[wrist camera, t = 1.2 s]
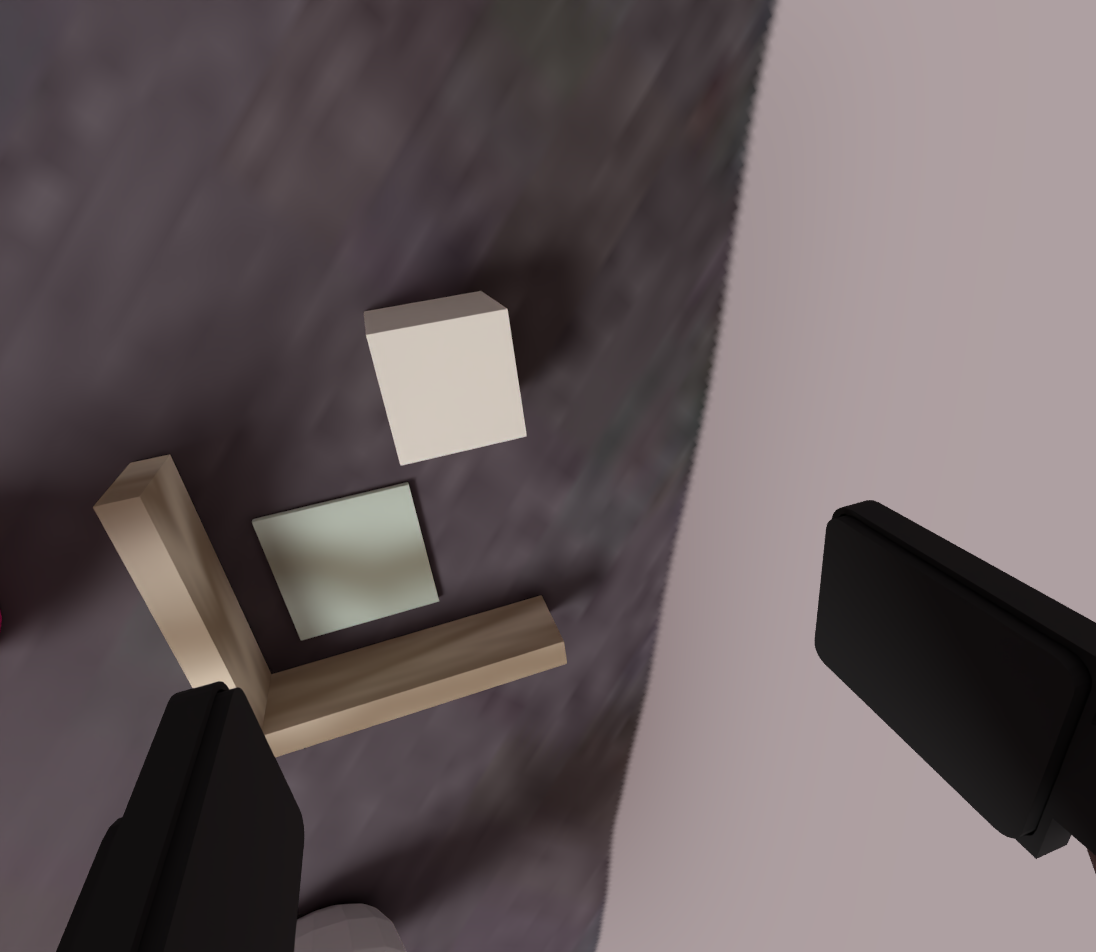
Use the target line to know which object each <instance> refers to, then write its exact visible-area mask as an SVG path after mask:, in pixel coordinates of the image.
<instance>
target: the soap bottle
mask: <svg viewBox="0 0 1096 952" xmlns="http://www.w3.org/2000/svg"><path fill="white" fill-rule="evenodd" d="M294 952H406V950H405V947H404V945H403V943H402V941H401V939H400V937H399V935H398V933H397V930H396V928H395V926H394V924H393V922H392V921H391V920H390V919H388V918H387V917H386V916H385V915H384V914H383V913H382V912H380V911H379V910H378V909H377V908H375V907H372V906H369V905H366V904H363V903H359V904H340V905H332V906H329V907H326V908H323V909H319V910H316V911H314V912H312V913H310V914H307V915H305V916H303V917H301V918H299V919H297V924H296V935H295V946H294Z"/></svg>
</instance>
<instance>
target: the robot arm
mask: <svg viewBox="0 0 1096 952" xmlns="http://www.w3.org/2000/svg"><path fill="white" fill-rule="evenodd" d="M815 648H816V651H817V653H818V655H819V657H820V659H821V660H822V661H823V662H824V664H825V665H826V666H827V667H829V668H830V669H831V670H832V671H833V672H834V673H835V674H836V675H837V676H838V677H839V678H840V679H841V680H842V681H843V682H844V683H845V684H846V685H847V686H848V687H849V688H850V689H851V690H852V691H853V692H854V693H855V694H856V695H857V696H859V698H861V699H862V700H863V701H864V702H865V703H866V704H867V705H868V706H869V707H870V708H871V709H872V710H873V711H874V712H875V713H876V714H877V715H878V716H879V717H880V718H881V719H882V720H883V721H884V722H885V723H886V724H887V725H888V726H889V727H891V728H892V729H893V730H894V731H895V732H896V733H897V734H898V735H899V736H900V737H901V738H902V739H903V740H904V741H905V742H906V743H907V744H908V745H909V746H910V747H911V748H912V749H913V750H914V751H915V752H916V753H918V755H920V756H921V757H922V758H923V759H924V760H925V761H926V762H927V763H928V764H929V765H930V766H931V767H932V768H933V769H934V770H935V771H936V772H937V773H938V774H939V775H940V776H941V777H942V778H943V779H944V780H945V781H946V782H947V783H948V784H949V785H950V786H952V787H953V788H954V789H955V790H956V791H957V792H958V793H959V794H960V795H961V796H962V797H963V798H964V799H965V800H966V801H967V802H968V803H969V804H970V805H971V806H972V807H973V808H974V809H975V810H976V811H977V812H979V814H980V815H981V816H983V817H984V818H985V819H986V820H987V821H988V822H989V823H990V824H991V825H992V826H993V827H994V828H995V829H996V830H998V831H999V832H1000V833H1002V834H1003V835H1005V836H1007V837H1010V838H1015V839H1016V840H1017V841H1018V842H1019V843H1020V844H1021V845H1022V846H1023V847H1024V848H1026V850H1028V851H1029V852H1030V853H1031V854H1032V855H1033V856H1034V857H1035V858H1036V859H1037V858H1039V857H1041V856H1043V855H1046V854H1048V853H1050V852H1052V851H1054V850H1056V849H1059V848H1061V847H1063V846H1065V845H1067V843H1068V841H1069V839H1070V836H1071V835H1073V836H1074V837H1075V838H1076V839H1077V840H1078V841H1079V842H1081V843H1082V844H1083V845H1084V846H1085V847H1086V848H1087V851H1088V853H1089V856H1090V859H1091V862H1092V864H1093V868H1094V870H1095V873H1096V623H1095V622H1093V621H1091V620H1090V619H1088V618H1086V617H1084V616H1083V615H1081V614H1079V613H1077V612H1075V611H1073V610H1072V609H1070V608H1068V607H1066V606H1064V605H1063V604H1061V603H1059V602H1057V601H1055V600H1054V599H1052V598H1050V597H1048V596H1046V595H1045V594H1043V593H1041V592H1039V591H1037V590H1036V589H1034V588H1032V587H1030V586H1028V585H1027V584H1025V583H1023V582H1021V581H1019V580H1017V579H1016V578H1014V577H1012V576H1010V575H1009V574H1007V573H1005V572H1003V571H1001V570H999V569H998V568H996V567H994V566H992V565H990V564H989V563H987V562H985V561H983V560H981V559H980V558H978V557H976V556H974V555H973V554H971V553H969V552H967V551H965V550H964V549H962V548H960V547H958V546H956V545H954V544H953V543H951V542H949V541H947V540H945V539H944V538H942V537H940V536H938V535H936V534H935V533H933V532H931V531H929V530H927V529H925V528H924V527H922V526H920V525H918V524H917V523H915V522H913V521H911V520H909V519H908V518H906V517H904V516H902V515H900V514H899V513H897V512H895V511H893V510H891V509H889V508H888V507H886V506H884V505H882V504H880V503H879V502H876V501H873V500H869V501H868V500H867V501H863V502H860V503H856V504H852V505H849V506H845V507H842V508H839V509H837V510H836V511H835V512H834V514H833V516H832V520H830V521H829V522H828V524H827V527H826V535H825V545H824V554H823V564H822V574H821V584H820V593H819V603H818V612H817V622H816V631H815ZM303 848H304V825H303V819H302V815H301V812H300V809H299V807H298V805H297V803H296V801H295V799H294V797H293V794H292V792H291V790H290V788H289V786H288V784H287V782H286V780H285V778H284V775H283V773H282V771H281V769H280V767H279V765H278V763H277V761H276V758H275V756H274V754H273V752H272V750H271V748H270V746H269V744H268V742H267V739H266V737H265V735H264V733H263V731H262V729H261V727H260V725H259V722H258V720H257V718H256V716H255V714H254V712H253V710H252V708H251V705H250V703H249V701H248V699H247V697H246V695H245V693H244V691H243V690H242V689H241V688H239V687H237V688H233V689H230V690H229V688H228V686H227V685H226V684H225V683H224V682H221V681H218V682H214V683H211V684H207V685H204V686H200V687H196V688H193V689H189V690H186V691H182V692H179V693H176V694H174V695H173V696H172V697H171V698H170V700H169V702H168V704H167V707H166V709H165V712H164V714H163V717H162V719H161V722H160V724H159V727H158V729H157V732H156V734H155V737H154V739H153V742H152V744H151V747H150V749H149V752H148V755H147V757H146V760H145V762H144V765H143V767H142V770H141V772H140V775H139V777H138V780H137V782H136V785H135V787H134V790H133V792H132V795H131V797H130V800H129V802H128V805H127V807H126V810H125V813H124V815H123V817H122V818H119V819H117V820H116V821H115V822H114V823H113V824H112V825H111V826H110V827H109V829H108V831H107V833H106V835H105V836H104V838H103V840H102V842H101V844H100V847H99V849H98V852H97V854H96V857H95V859H94V861H93V864H92V866H91V869H90V871H89V873H88V876H87V878H86V881H85V883H84V886H83V888H82V890H81V893H80V895H79V898H78V900H77V902H76V905H75V907H74V910H73V912H72V914H71V917H70V919H69V922H68V924H67V927H66V929H65V931H64V934H63V936H62V939H61V941H60V943H59V946H58V948H57V951H56V952H294V946H295V935H296V924H297V913H298V902H299V891H300V881H301V870H302V859H303Z"/></svg>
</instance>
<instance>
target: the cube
mask: <svg viewBox="0 0 1096 952" xmlns="http://www.w3.org/2000/svg"><path fill="white" fill-rule="evenodd" d="M364 321H365V330H366V337H367V341H368V344H369V348H370V352H371V356H372V359H373V363H374V367H375V371H376V375H377V378H378V382H379V386H380V390H381V393H382V397H383V401H384V405H385V409H386V412H387V416H388V420H389V424H390V428H391V431H392V435H393V439H394V443H395V446H396V450H397V454H398V458H399V462H400V465H406V464H410V463H414V462H419V461H423V460H427V459H431V458H436V457H440V456H444V455H449V454H453V453H457V452H462V451H466V450H470V449H474V448H479V447H483V446H487V445H492V444H496V443H500V442H504V441H509V440H513V439H517V438H522V437H526V436H527V435H526V429H525V422H524V415H523V409H522V402H521V395H520V389H519V382H518V375H517V369H516V362H515V356H514V349H513V342H512V336H511V329H510V322H509V316H508V309H507V308H505V307H504V306H503V305H501V304H500V303H498V302H497V301H495V300H494V299H492V298H491V297H489V296H488V295H486V294H485V293H484V292H482V291H478V292H472V293H466V294H460V295H455V296H449V297H443V298H438V299H432V300H426V301H421V302H415V303H409V304H404V305H398V306H392V307H387V308H381V309H375V310H370V311H364Z"/></svg>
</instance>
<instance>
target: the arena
mask: <svg viewBox="0 0 1096 952" xmlns="http://www.w3.org/2000/svg"><path fill="white" fill-rule="evenodd" d="M93 508H94V510H95V512H96V514H97V516H98V518H99V519H100V521H101V523H102V525H103V527H104V528H105V530H106V532H107V534H108V536H109V537H110V539H111V541H112V543H113V545H114V546H115V548H116V550H117V552H118V554H119V556H120V557H121V559H122V561H123V563H124V565H125V566H126V568H127V570H128V572H129V574H130V575H131V577H132V579H133V581H134V583H135V584H136V586H137V588H138V590H139V592H140V593H141V595H142V597H143V599H144V601H145V603H146V604H147V606H148V608H149V610H150V612H151V613H152V615H153V617H154V619H155V621H156V622H157V624H158V626H159V628H160V630H161V631H162V633H163V635H164V637H165V639H166V640H167V642H168V644H169V646H170V648H171V650H172V651H173V653H174V655H175V657H176V659H177V660H178V662H179V664H180V666H181V668H182V669H183V671H184V673H185V675H186V677H187V678H188V680H189V682H190V684H191V686H192V687H193V688H196V687H200V686H204V685H207V684H211V683H214V682H218V681H221V682H224V683H225V684H226V685H227V686H228V688H229V690H230V689H233V688H237V687H239V688H241V689H242V690H243V691H244V693H245V695H246V697H247V699H248V701H249V703H250V705H251V708H252V710H253V712H254V714H255V716H256V718H257V720H258V722H259V725H260V727H261V729H262V731H263V733H264V735H265V737H266V739H267V742H268V744H269V746H270V748H271V750H272V752H273V754H274V756H275V757H278V756H281V755H284V754H287V753H290V752H293V751H296V750H300V749H303V748H306V747H309V746H312V745H315V744H318V743H321V742H324V741H328V740H331V739H334V738H337V737H340V736H343V735H346V734H349V733H352V732H355V731H359V730H362V729H365V728H368V727H371V726H374V725H377V724H380V723H383V722H387V721H390V720H393V719H396V718H399V717H402V716H405V715H408V714H411V713H415V712H418V711H421V710H424V709H427V708H430V707H433V706H436V705H439V704H442V703H446V702H449V701H452V700H455V699H458V698H461V697H464V696H467V695H470V694H474V693H477V692H480V691H483V690H486V689H489V688H492V687H495V686H498V685H502V684H505V683H508V682H511V681H514V680H517V679H520V678H523V677H526V676H529V675H533V674H536V673H539V672H542V671H545V670H548V669H551V668H554V667H557V666H561V665H564V664H567V660H566V653H565V646H564V641H563V639H562V637H561V635H560V633H559V630H558V628H557V626H556V624H555V622H554V620H553V618H552V616H551V614H550V612H549V610H548V608H547V606H546V603H545V601H544V599H543V597H542V595H540V596H537V597H533V598H530V599H527V600H523V601H520V602H516V603H513V604H510V605H506V606H503V607H499V608H496V609H493V610H489V611H486V612H482V613H479V614H475V615H472V616H469V617H465V618H462V619H458V620H455V621H452V622H448V623H445V624H441V625H438V626H435V627H431V628H428V629H424V630H421V631H418V632H414V633H411V634H407V635H404V636H400V637H397V638H394V639H390V640H387V641H383V642H380V643H377V644H373V645H370V646H366V647H363V648H360V649H356V650H353V651H349V652H346V653H343V654H339V655H336V656H332V657H329V658H325V659H322V660H319V661H315V662H312V663H308V664H305V665H302V666H298V667H295V668H291V669H288V670H285V671H281V672H278V673H274V674H271V672H270V670H269V668H268V666H267V664H266V661H265V659H264V657H263V655H262V653H261V650H260V648H259V646H258V644H257V642H256V640H255V637H254V635H253V633H252V631H251V629H250V627H249V624H248V622H247V620H246V618H245V616H244V614H243V611H242V609H241V607H240V605H239V603H238V601H237V598H236V596H235V594H234V592H233V590H232V588H231V585H230V583H229V581H228V579H227V577H226V575H225V572H224V570H223V568H222V566H221V564H220V562H219V559H218V557H217V555H216V553H215V551H214V549H213V546H212V544H211V542H210V540H209V538H208V536H207V533H206V531H205V529H204V527H203V525H202V523H201V520H200V518H199V516H198V514H197V512H196V510H195V507H194V505H193V503H192V501H191V499H190V497H189V494H188V492H187V490H186V488H185V486H184V483H183V481H182V479H181V477H180V475H179V473H178V470H177V468H176V466H175V464H174V462H173V460H172V457H171V455H170V454H169V455H165V456H160V457H155V458H150V459H146V460H141V461H136V462H131V463H130V464H129V465H128V466H127V467H126V468H125V470H124V471H123V472H122V473H121V474H120V475H119V477H118V478H117V479H116V480H115V481H114V483H113V484H112V485H111V486H110V487H109V488H108V490H107V491H106V492H105V493H104V494H103V495H102V497H101V498H100V499H99V500H98V501H97V503H96V504H95V505H94V506H93ZM252 524H253V526H254V529H255V531H256V534H257V536H258V539H259V541H260V543H261V546H262V548H263V551H264V553H265V555H266V558H267V560H268V563H269V565H270V567H271V570H272V572H273V575H274V577H275V580H276V582H277V584H278V587H279V589H280V592H281V594H282V596H283V599H284V601H285V604H286V606H287V608H288V611H289V613H290V616H291V618H292V620H293V623H294V625H295V628H296V630H297V633H298V635H299V637H300V640H301V641H302V640H305V639H309V638H312V637H316V636H319V635H323V634H326V633H330V632H333V631H337V630H340V629H344V628H347V627H351V626H354V625H358V624H362V623H365V622H369V621H372V620H376V619H379V618H383V617H386V616H390V615H393V614H397V613H400V612H404V611H407V610H411V609H414V608H418V607H421V606H425V605H428V604H432V603H435V602H439V598H438V594H437V591H436V587H435V583H434V579H433V575H432V571H431V568H430V564H429V560H428V556H427V552H426V549H425V545H424V541H423V537H422V533H421V529H420V526H419V522H418V518H417V514H416V510H415V507H414V503H413V499H412V495H411V491H410V487H409V484H408V482H406V483H401V484H397V485H393V486H389V487H385V488H381V489H376V490H372V491H368V492H364V493H360V494H355V495H351V496H347V497H343V498H339V499H335V500H330V501H326V502H322V503H318V504H314V505H310V506H305V507H301V508H297V509H293V510H289V511H284V512H280V513H276V514H272V515H268V516H264V517H259V518H255V519H253V520H252Z"/></svg>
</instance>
